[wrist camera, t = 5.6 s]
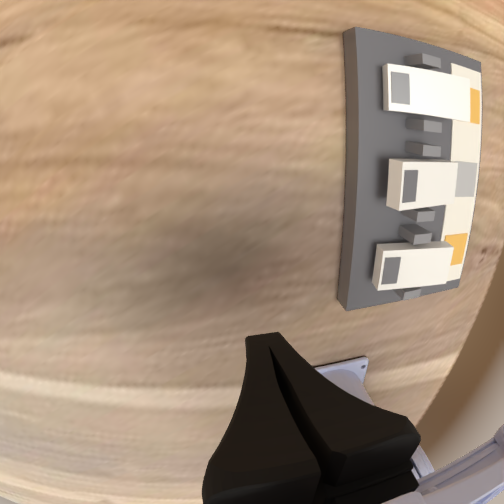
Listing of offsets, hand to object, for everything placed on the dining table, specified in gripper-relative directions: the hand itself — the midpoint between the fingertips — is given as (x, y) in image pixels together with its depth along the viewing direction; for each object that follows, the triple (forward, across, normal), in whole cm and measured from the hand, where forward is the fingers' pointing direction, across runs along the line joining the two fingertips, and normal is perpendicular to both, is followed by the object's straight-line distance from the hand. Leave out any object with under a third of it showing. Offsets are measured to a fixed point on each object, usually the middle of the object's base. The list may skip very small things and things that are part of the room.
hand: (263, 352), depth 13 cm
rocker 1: (+7, -12, -11) cm, 18 cm away
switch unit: (+10, -14, -5) cm, 18 cm away
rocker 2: (+7, -12, -5) cm, 15 cm away
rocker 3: (+7, -12, +1) cm, 14 cm away
